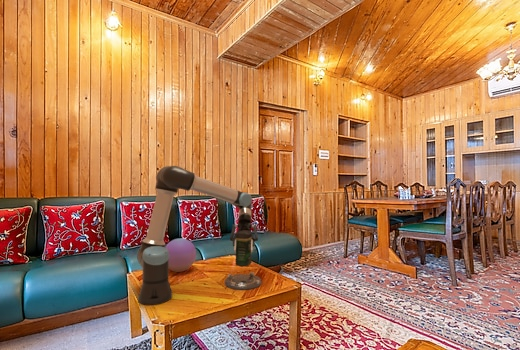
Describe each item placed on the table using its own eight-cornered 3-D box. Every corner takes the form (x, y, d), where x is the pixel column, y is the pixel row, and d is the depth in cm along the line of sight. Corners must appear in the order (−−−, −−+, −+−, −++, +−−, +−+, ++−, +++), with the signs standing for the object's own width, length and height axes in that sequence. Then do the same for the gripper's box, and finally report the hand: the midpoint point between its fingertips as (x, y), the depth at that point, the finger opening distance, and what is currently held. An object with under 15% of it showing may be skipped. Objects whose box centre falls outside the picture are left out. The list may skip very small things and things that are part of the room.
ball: (171, 265, 188) (171, 234, 188) (200, 266, 185) (200, 236, 185) (156, 275, 168) (156, 241, 168) (188, 277, 165) (188, 242, 165)
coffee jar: (247, 267, 151) (247, 232, 151) (233, 266, 153) (233, 231, 154) (253, 262, 161) (253, 229, 161) (239, 261, 163) (240, 228, 163)
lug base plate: (217, 285, 153) (217, 279, 153) (238, 274, 170) (238, 269, 170) (248, 292, 143) (248, 286, 143) (267, 280, 160) (267, 275, 160)
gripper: (262, 221, 173) (262, 254, 156) (227, 221, 173) (224, 254, 156) (262, 213, 167) (263, 247, 151) (226, 213, 167) (223, 247, 151)
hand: (243, 251), depth 154 cm, fingers closed on coffee jar, 8 cm apart
